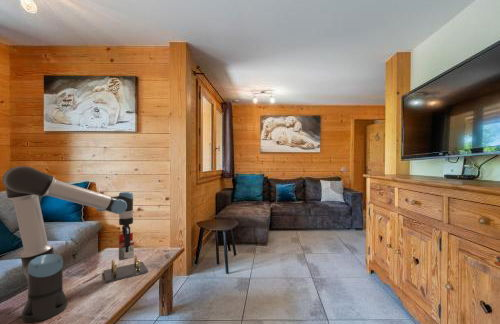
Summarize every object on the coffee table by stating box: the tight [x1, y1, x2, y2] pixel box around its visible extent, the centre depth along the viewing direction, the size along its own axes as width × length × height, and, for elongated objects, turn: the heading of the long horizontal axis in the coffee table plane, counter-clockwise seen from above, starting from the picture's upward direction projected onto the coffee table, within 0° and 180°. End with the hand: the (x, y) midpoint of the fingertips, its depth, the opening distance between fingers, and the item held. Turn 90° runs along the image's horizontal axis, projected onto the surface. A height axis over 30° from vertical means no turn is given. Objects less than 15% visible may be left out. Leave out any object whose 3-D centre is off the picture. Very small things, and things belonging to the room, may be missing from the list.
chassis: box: [102, 255, 149, 284], centre depth 143 cm, size 22×16×7 cm
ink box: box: [118, 232, 135, 261], centre depth 143 cm, size 4×8×15 cm, turn 124°
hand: (126, 256), depth 143 cm, fingers closed on ink box, 4 cm apart
